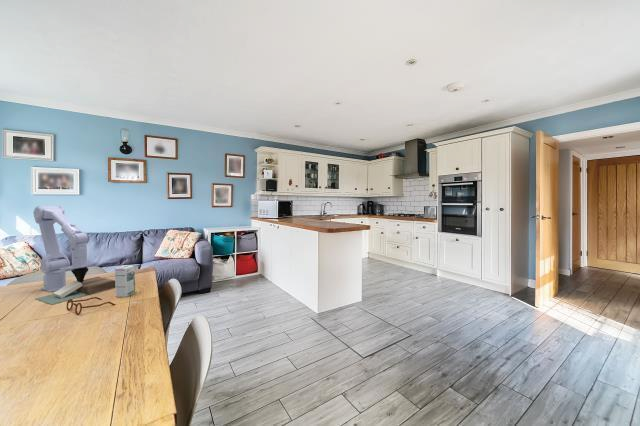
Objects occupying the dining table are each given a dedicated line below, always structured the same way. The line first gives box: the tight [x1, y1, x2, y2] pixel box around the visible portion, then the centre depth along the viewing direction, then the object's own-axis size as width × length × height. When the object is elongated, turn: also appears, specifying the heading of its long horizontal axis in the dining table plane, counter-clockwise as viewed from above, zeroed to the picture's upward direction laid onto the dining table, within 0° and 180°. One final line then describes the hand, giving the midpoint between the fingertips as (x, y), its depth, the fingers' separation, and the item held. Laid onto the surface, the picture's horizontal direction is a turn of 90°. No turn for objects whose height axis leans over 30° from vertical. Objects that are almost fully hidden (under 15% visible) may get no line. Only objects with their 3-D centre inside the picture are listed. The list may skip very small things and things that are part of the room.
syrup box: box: [114, 264, 136, 298], centre depth 129 cm, size 6×6×14 cm
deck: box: [75, 276, 116, 296], centre depth 137 cm, size 16×12×4 cm
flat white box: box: [52, 280, 83, 298], centre depth 128 cm, size 6×9×2 cm, turn 157°
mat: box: [34, 291, 88, 306], centre depth 125 cm, size 16×13×1 cm
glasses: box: [66, 296, 116, 316], centre depth 115 cm, size 13×13×5 cm
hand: (80, 282), depth 132 cm, fingers closed
